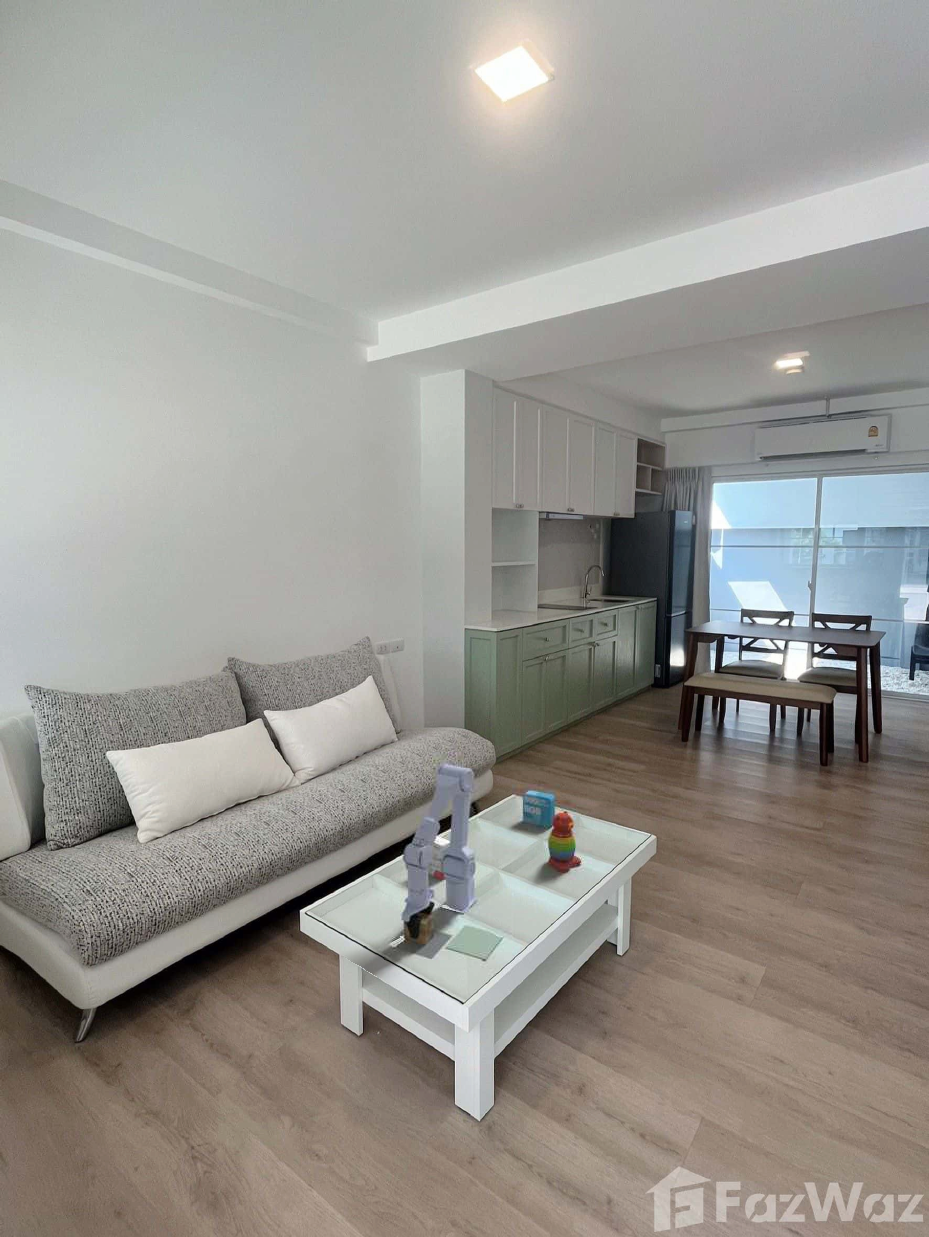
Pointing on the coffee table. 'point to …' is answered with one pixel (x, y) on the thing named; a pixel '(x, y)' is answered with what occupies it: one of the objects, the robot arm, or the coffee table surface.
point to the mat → (474, 942)
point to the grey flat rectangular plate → (421, 949)
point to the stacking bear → (562, 843)
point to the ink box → (437, 857)
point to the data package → (538, 808)
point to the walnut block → (422, 929)
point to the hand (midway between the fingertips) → (418, 932)
